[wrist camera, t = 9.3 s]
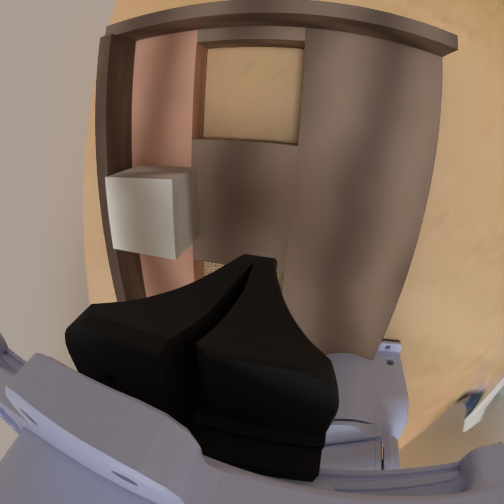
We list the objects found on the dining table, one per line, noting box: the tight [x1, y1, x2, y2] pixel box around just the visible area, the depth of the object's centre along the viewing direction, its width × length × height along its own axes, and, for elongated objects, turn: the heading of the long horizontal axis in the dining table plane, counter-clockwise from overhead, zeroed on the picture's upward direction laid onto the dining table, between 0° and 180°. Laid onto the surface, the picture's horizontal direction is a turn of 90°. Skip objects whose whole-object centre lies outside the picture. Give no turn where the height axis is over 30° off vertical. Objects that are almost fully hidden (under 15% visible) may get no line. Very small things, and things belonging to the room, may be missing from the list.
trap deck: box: [95, 0, 458, 360], centre depth 18 cm, size 22×27×5 cm
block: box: [105, 166, 200, 260], centre depth 18 cm, size 5×5×4 cm
